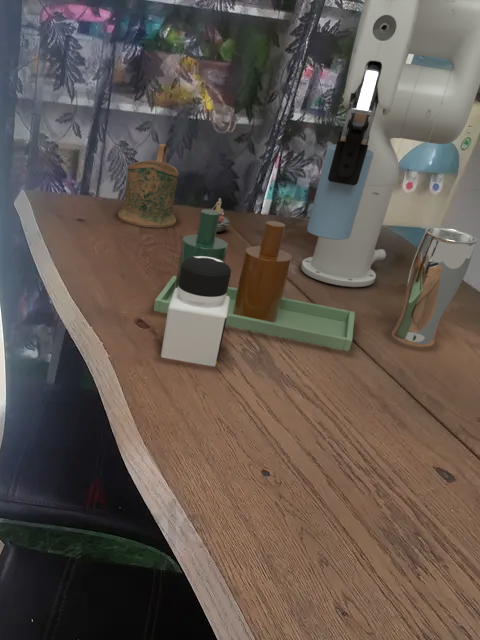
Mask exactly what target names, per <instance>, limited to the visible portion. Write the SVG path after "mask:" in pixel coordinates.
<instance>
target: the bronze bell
mask: <svg viewBox="0 0 480 640" xmlns="http://www.w3.org/2000/svg"><path fill="white" fill-rule="evenodd" d="M167 147H168V146H167V144H166V143H160V144H159V145H158V148H157V155H156V160H141V161H137V162H134V163H132V164H129V165H128V166H127V175H126V181H125V190H124V199H123V207H122V208H121V209H120V210H119V211H118V212H117V217H118V219H119V220H120V221H123V222H125V223H127V224H131V225H134V226H139V227H145V228H170V227H173V226H175V225H176V223H177V218H176V216H175V214H174V205H175V198H176V197H175V196H176V192H177V186H178V178H179V171H178V170H177V168H176V167H175V166H173V165H171V164H169V163H167V162H166V158H167V157H166V156H167V149H168V148H167Z"/></svg>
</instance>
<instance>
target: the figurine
mask: <svg viewBox="0 0 480 640" xmlns="http://www.w3.org/2000/svg"><path fill="white" fill-rule="evenodd" d="M221 206H222V198H221V197H218V199H217V201H216V203H215V205H214V206H213V208H212V209H211V210H215V211H218V212H219V213H220V216H219V221H218V227H217V232H216V233H219V232H221V233H222V232H223V231H224V230H225V229H227V227H230V225H231V221H230V220H229V219H228V218H226V217H225V216H224V215H225V213H224V212H225V211H224V208H222V207H221ZM214 208H215V209H214Z"/></svg>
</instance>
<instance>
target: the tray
mask: <svg viewBox="0 0 480 640" xmlns="http://www.w3.org/2000/svg"><path fill="white" fill-rule="evenodd" d="M176 277H177V275H173V276H171V277H170V280H169V281H168V282H167V283H166V285H165V286H164V288H163V289H162V290H161V291H160V293H159V294H158V295H157V297H156V298H155V299H154V303H153V311H154V312H160V313H165V314H167V313H168V307H169V304H170V301H171V299H172V296H173V293H174V290H175V284H176ZM237 289H238V287H232V286H228V289H227V294H226V296H229V298H230V301H229V307H228V313H227V319H226V324H225V327H231V328H235V329H240V330H246V331H250V332H253V333H254V332H255V333H260V334H265V335H269V336H273V337H278V338H284V339H287V340H292V341H298V342H304V343H307V344H311V345H312V344H313V345H318V346H321V347H327V348H332V349H335V350H340V351H345V352H350V350H351V346H352V343H353V339H354V337H353V336H354V326H355V317H356V311H352V310H349V309H348V310H347V309H343V308H337V307H333V306H328V305H322V304H318V303H313V302H307V301H302V300H299V299H292V298H287V297H283V296H282V300H281V304H280V308H279V312H278V316H277V320H276V321H275V322H269V321H264V320H259V319H254V318H249V317H245V316H240V315H235V314H233V308H234V303H235V299H236V294H237Z"/></svg>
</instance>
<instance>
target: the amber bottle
mask: <svg viewBox="0 0 480 640" xmlns="http://www.w3.org/2000/svg"><path fill="white" fill-rule="evenodd" d="M285 228H286V224H285V223H283V222H280V221H277V220H268V221H266V222H265V225H264V231H263V235H262V239H261V243H260V244H261V245H254V246H249V247H247V248H245V252H244V257H243V261H242V265H241V271H240V275H239V280H238V284H237V288H238V289H237V294H236V299H235V303H234V308H233V314H235V315H240V316H245V317H249V318H254V319H259V320H264V321H269V322H275V321H276V320H277V316H278V312H279V308H280V304H281V300H282V297H283V295H284V292H285V287H286V283H287V281H288V280H287V279H288V276H289V271H290V268H291V263H292V259H293V256H292V254H291V253H289V252H287V251H286V250H283V249H281V246H282V241H283V238H284V232H285Z"/></svg>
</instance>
